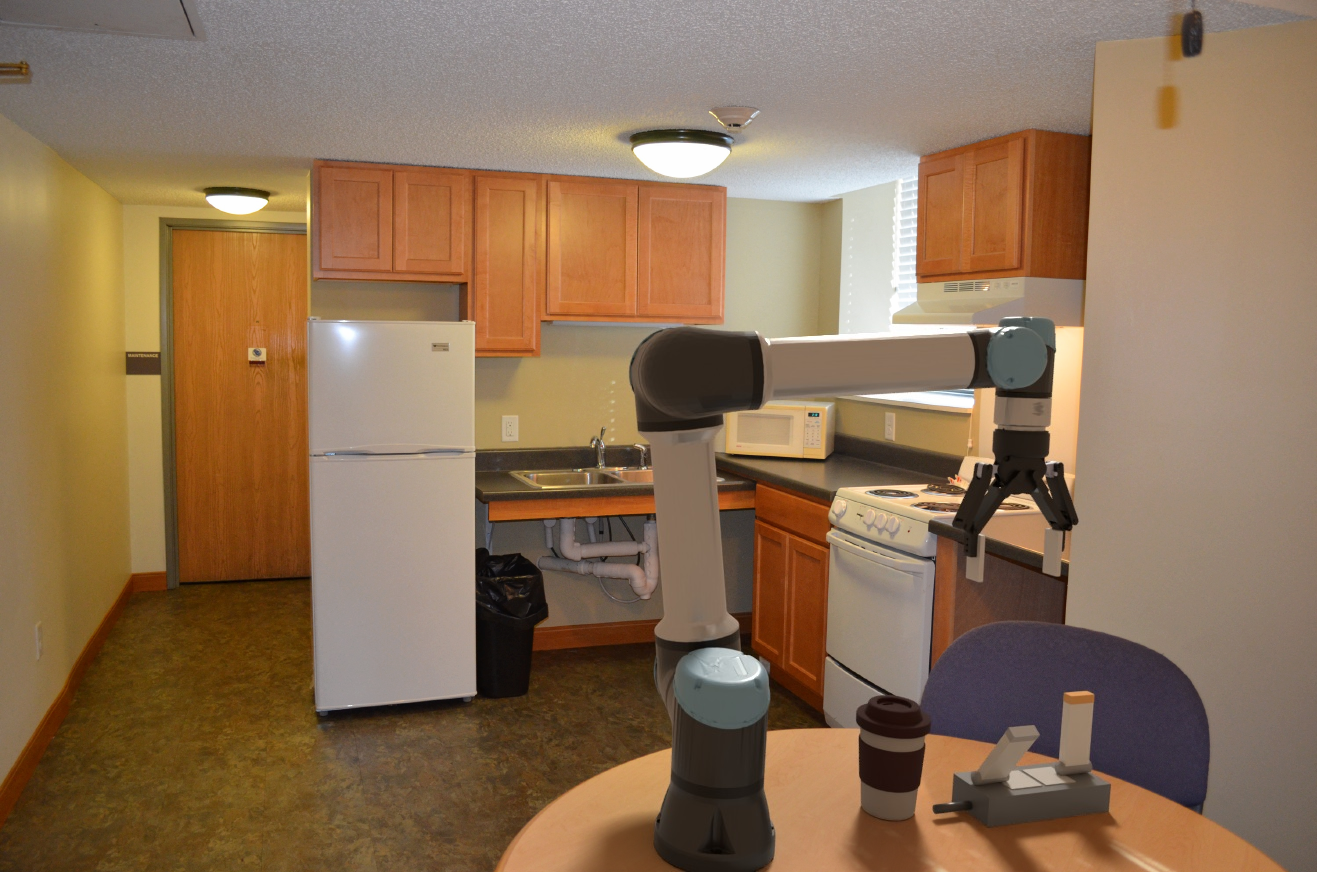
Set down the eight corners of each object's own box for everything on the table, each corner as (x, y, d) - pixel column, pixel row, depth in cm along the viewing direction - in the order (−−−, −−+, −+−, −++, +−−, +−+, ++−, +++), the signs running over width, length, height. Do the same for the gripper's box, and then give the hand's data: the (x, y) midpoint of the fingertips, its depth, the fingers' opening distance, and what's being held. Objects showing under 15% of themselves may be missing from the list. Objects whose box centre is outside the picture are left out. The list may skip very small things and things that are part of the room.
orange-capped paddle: (1062, 777, 136) (1069, 696, 135) (1054, 771, 138) (1060, 692, 137) (1091, 774, 137) (1098, 694, 137) (1082, 768, 139) (1089, 690, 138)
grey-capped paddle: (974, 787, 132) (1011, 738, 125) (968, 775, 134) (1004, 726, 127) (1005, 783, 134) (1043, 735, 127) (999, 772, 135) (1036, 723, 128)
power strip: (951, 831, 127) (954, 801, 127) (917, 804, 135) (919, 775, 134) (1108, 811, 135) (1111, 782, 135) (1068, 786, 143) (1070, 759, 142)
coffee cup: (927, 831, 127) (934, 720, 126) (850, 821, 129) (857, 711, 128) (922, 798, 137) (929, 694, 136) (850, 789, 139) (857, 687, 138)
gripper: (966, 430, 128) (958, 588, 130) (1111, 429, 137) (1101, 577, 139) (930, 426, 135) (923, 576, 137) (1071, 425, 144) (1062, 566, 146)
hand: (1013, 577), depth 138 cm, fingers open, 13 cm apart
